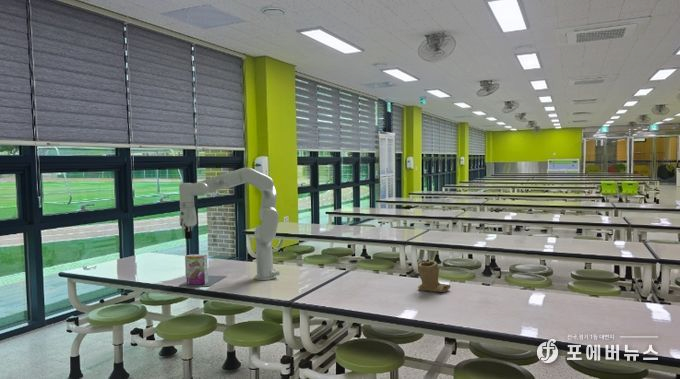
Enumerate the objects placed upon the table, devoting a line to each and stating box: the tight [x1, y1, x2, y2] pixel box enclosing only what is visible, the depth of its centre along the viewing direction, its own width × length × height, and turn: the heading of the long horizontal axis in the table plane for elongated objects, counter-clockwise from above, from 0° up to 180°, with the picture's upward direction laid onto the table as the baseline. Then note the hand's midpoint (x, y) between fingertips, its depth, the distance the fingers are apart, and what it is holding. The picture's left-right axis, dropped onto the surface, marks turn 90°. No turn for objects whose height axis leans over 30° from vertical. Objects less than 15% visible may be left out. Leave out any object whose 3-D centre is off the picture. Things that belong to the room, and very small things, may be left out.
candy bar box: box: [185, 254, 209, 285], centre depth 255 cm, size 11×5×16 cm, turn 82°
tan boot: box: [417, 260, 451, 293], centre depth 228 cm, size 15×12×15 cm
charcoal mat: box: [179, 275, 227, 288], centre depth 262 cm, size 18×22×1 cm
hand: (188, 238), depth 248 cm, fingers closed
